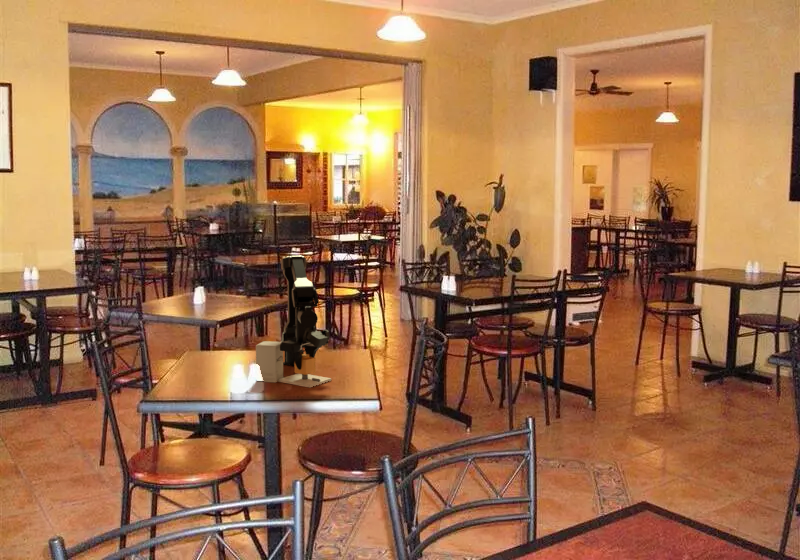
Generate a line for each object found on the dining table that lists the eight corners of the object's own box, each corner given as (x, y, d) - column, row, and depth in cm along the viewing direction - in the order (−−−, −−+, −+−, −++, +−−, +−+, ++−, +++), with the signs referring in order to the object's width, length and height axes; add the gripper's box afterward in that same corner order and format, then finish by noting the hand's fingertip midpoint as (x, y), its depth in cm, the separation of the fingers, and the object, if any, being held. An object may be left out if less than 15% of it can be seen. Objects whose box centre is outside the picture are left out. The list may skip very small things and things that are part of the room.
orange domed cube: (294, 372, 278) (294, 355, 277) (304, 369, 282) (304, 352, 281) (305, 374, 275) (305, 357, 274) (315, 371, 279) (315, 354, 278)
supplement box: (276, 382, 277) (275, 345, 275) (255, 381, 278) (254, 344, 277) (284, 377, 284) (283, 341, 282) (263, 376, 285) (263, 340, 284)
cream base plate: (278, 381, 278) (278, 368, 278) (300, 374, 287) (299, 362, 287) (310, 387, 270) (310, 373, 270) (331, 380, 279) (331, 367, 279)
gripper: (304, 329, 264) (304, 376, 266) (340, 320, 279) (340, 365, 281) (278, 325, 270) (279, 372, 272) (315, 317, 286) (315, 361, 288)
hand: (304, 367), depth 278 cm, fingers closed on orange domed cube, 5 cm apart
